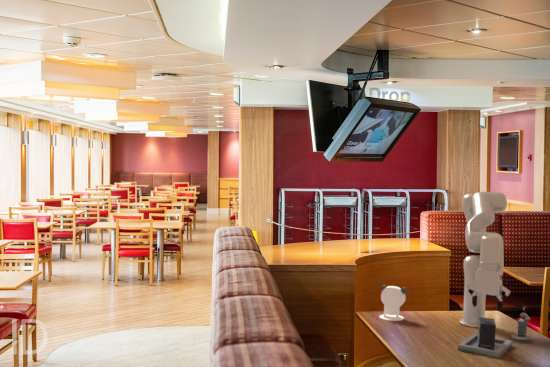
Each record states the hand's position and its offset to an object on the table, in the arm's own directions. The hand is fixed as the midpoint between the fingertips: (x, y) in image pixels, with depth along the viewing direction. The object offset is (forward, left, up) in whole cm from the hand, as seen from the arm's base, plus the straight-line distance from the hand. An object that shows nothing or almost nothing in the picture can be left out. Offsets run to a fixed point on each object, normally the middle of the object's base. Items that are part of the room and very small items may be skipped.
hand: (487, 308), depth 267 cm
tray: (+1, 0, -16) cm, 16 cm away
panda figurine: (-19, -49, -17) cm, 55 cm away
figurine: (-21, +9, -17) cm, 29 cm away
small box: (0, 0, -16) cm, 16 cm away
